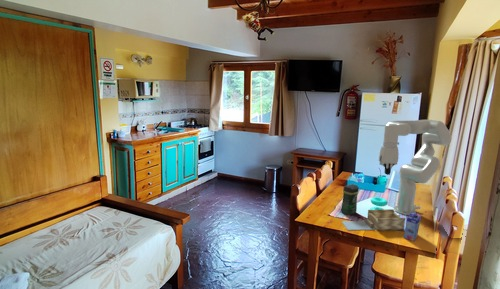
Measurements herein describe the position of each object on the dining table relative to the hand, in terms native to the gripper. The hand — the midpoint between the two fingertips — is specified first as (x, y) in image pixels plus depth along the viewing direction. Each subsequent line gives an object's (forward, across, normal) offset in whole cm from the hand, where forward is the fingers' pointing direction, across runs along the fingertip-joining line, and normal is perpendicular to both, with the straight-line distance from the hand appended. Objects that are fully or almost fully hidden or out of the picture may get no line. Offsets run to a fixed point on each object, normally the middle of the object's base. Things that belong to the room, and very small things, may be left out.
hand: (387, 174), depth 181 cm
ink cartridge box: (+29, -3, +24) cm, 37 cm away
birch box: (+28, +5, +11) cm, 31 cm away
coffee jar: (+28, +18, -9) cm, 35 cm away
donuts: (+29, +1, -5) cm, 29 cm away
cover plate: (+28, +21, +10) cm, 37 cm away
